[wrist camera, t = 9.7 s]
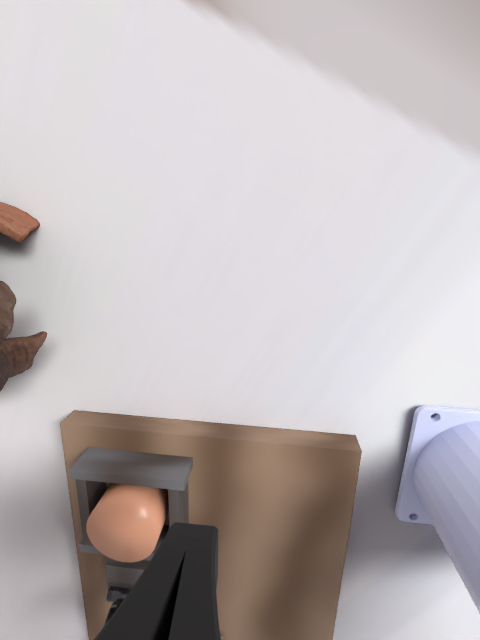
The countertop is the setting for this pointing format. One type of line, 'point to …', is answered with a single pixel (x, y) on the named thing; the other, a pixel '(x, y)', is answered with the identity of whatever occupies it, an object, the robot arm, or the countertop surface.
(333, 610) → the control panel
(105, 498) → the push button
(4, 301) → the brown curved loop piece
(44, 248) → the countertop surface
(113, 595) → the toggle lever
